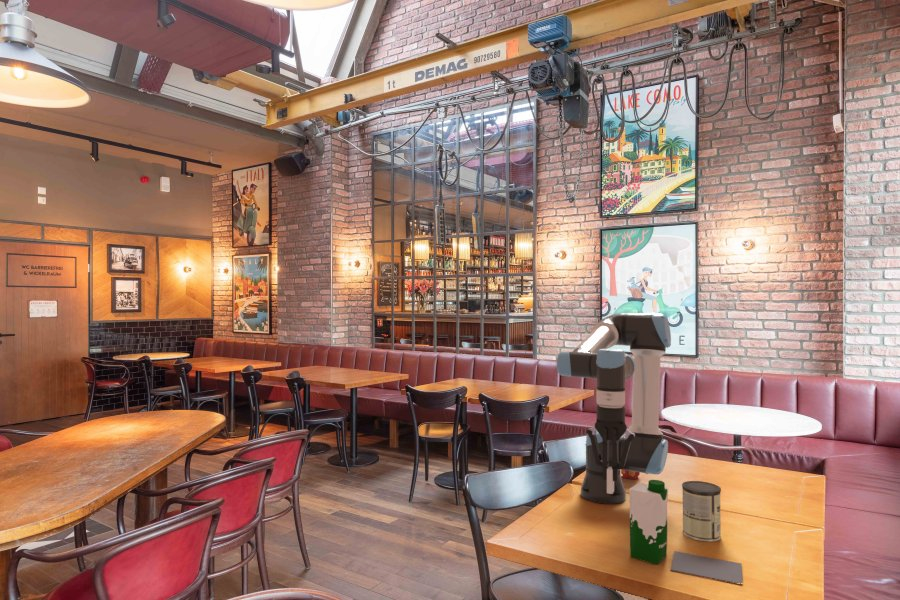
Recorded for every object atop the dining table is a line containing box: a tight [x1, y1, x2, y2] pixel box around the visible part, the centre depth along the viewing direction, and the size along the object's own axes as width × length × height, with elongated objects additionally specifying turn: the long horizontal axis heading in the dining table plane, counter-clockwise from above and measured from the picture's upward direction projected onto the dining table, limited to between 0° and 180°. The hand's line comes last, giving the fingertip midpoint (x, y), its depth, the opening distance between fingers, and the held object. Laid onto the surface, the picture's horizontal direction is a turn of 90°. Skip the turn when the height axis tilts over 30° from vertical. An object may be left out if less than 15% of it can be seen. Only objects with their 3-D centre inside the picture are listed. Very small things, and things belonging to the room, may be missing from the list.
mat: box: [670, 550, 744, 584], centre depth 140 cm, size 16×12×1 cm
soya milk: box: [628, 479, 669, 566], centre depth 147 cm, size 9×9×20 cm
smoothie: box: [620, 425, 641, 480], centre depth 216 cm, size 8×8×20 cm
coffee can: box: [681, 480, 722, 543], centre depth 161 cm, size 10×10×14 cm
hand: (610, 492), depth 151 cm, fingers closed
